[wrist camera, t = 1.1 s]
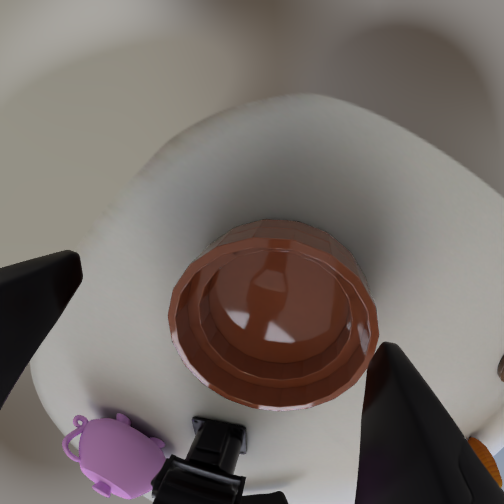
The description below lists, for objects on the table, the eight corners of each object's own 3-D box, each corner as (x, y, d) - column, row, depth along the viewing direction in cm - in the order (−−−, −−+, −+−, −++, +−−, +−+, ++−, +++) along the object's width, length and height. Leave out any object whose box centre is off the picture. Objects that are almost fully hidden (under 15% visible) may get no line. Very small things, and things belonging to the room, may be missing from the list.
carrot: (450, 450, 27) (466, 533, 13) (462, 431, 25) (485, 520, 11) (476, 443, 25) (496, 520, 12) (490, 423, 24) (516, 505, 10)
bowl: (350, 375, 24) (353, 415, 20) (201, 359, 27) (182, 395, 22) (379, 224, 19) (398, 247, 15) (188, 213, 22) (156, 232, 17)
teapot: (213, 461, 34) (188, 529, 23) (174, 475, 40) (150, 527, 28) (97, 383, 33) (47, 444, 21) (81, 413, 38) (44, 460, 27)
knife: (187, 493, 43) (179, 511, 38) (181, 489, 42) (173, 507, 38) (293, 484, 34) (289, 510, 29) (287, 480, 33) (282, 507, 29)
